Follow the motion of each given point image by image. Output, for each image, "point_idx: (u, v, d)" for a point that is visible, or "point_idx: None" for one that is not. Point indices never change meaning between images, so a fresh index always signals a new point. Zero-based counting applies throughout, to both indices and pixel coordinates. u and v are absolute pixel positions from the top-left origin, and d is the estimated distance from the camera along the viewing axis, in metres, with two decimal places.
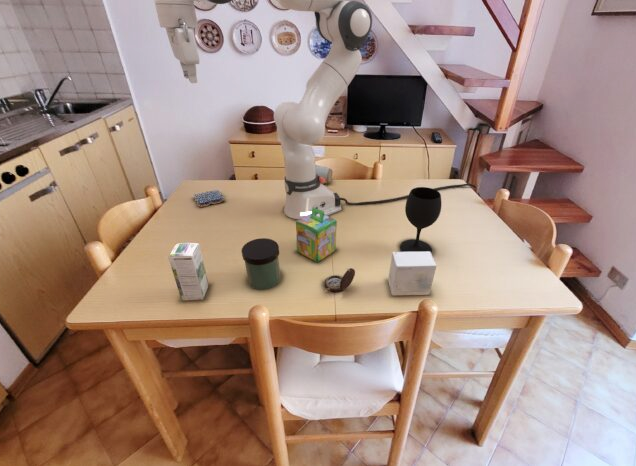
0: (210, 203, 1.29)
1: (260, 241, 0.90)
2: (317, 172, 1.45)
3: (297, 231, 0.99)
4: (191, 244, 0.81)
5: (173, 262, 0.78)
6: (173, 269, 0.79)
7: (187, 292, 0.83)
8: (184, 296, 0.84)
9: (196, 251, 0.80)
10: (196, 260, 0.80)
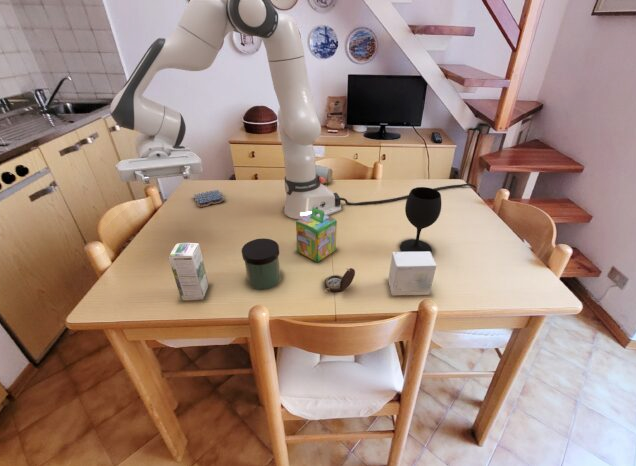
0: (210, 203, 1.29)
1: (260, 241, 0.90)
2: (317, 172, 1.45)
3: (297, 231, 0.99)
4: (191, 244, 0.81)
5: (173, 262, 0.78)
6: (173, 269, 0.79)
7: (187, 292, 0.83)
8: (184, 296, 0.84)
9: (196, 251, 0.80)
10: (196, 260, 0.80)
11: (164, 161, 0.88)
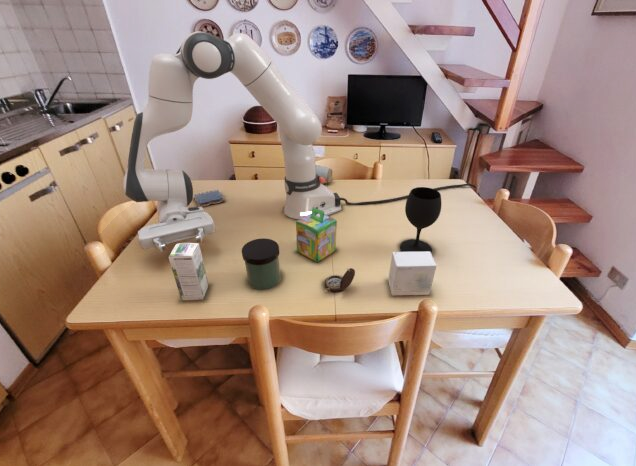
0: (210, 203, 1.29)
1: (260, 241, 0.90)
2: (317, 172, 1.45)
3: (297, 231, 0.99)
4: (191, 244, 0.81)
5: (173, 262, 0.78)
6: (173, 269, 0.79)
7: (187, 292, 0.83)
8: (184, 296, 0.84)
9: (196, 251, 0.80)
10: (196, 260, 0.80)
11: (180, 225, 0.95)
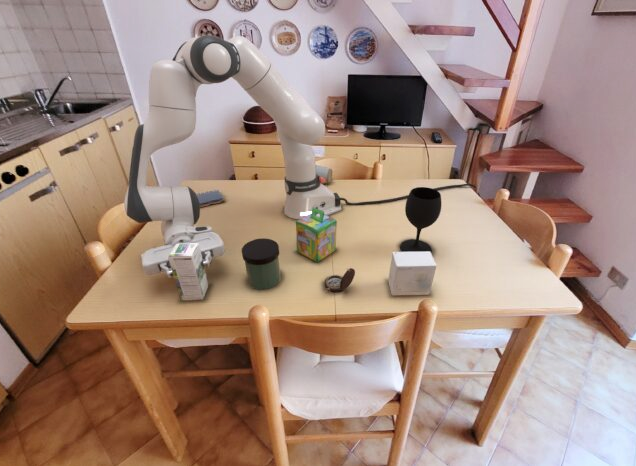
0: (210, 203, 1.29)
1: (260, 241, 0.90)
2: (317, 172, 1.45)
3: (297, 231, 0.99)
4: (191, 244, 0.81)
5: (173, 262, 0.78)
6: (173, 269, 0.79)
7: (187, 292, 0.83)
8: (184, 296, 0.84)
9: (196, 251, 0.80)
10: (196, 260, 0.80)
11: None
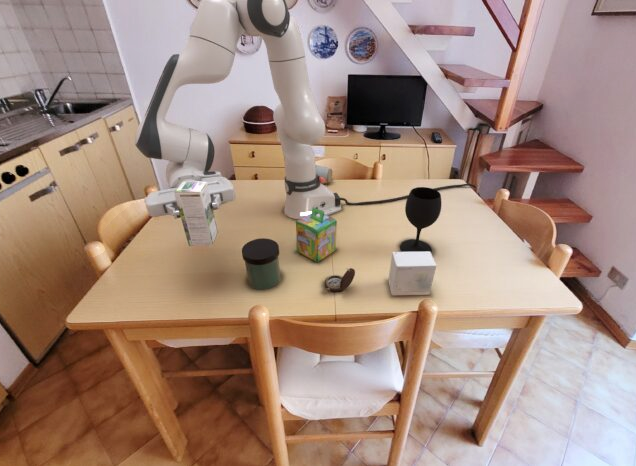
0: None
1: (260, 241, 0.90)
2: (317, 172, 1.45)
3: (297, 231, 0.99)
4: (199, 182, 0.74)
5: (179, 199, 0.71)
6: (179, 208, 0.72)
7: (195, 236, 0.76)
8: (191, 241, 0.77)
9: (204, 188, 0.73)
10: (204, 198, 0.73)
11: None
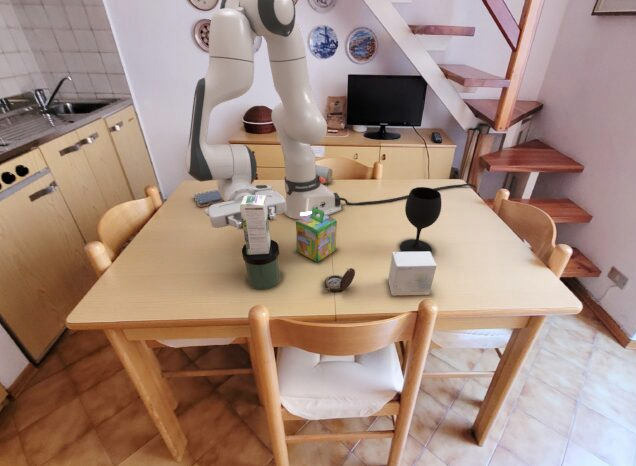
0: (210, 203, 1.29)
1: None
2: (317, 172, 1.45)
3: (297, 231, 0.99)
4: (259, 196, 0.81)
5: (244, 212, 0.78)
6: (243, 220, 0.79)
7: (254, 245, 0.83)
8: (250, 249, 0.83)
9: (265, 202, 0.80)
10: (265, 211, 0.80)
11: None
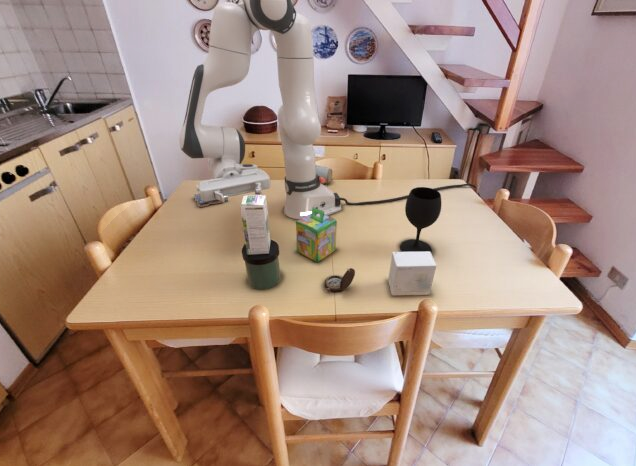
0: (210, 203, 1.29)
1: None
2: (317, 172, 1.45)
3: (297, 231, 0.99)
4: (259, 196, 0.81)
5: (244, 212, 0.78)
6: (243, 220, 0.79)
7: (254, 245, 0.83)
8: (250, 249, 0.83)
9: (265, 202, 0.80)
10: (265, 211, 0.80)
11: (237, 180, 0.95)
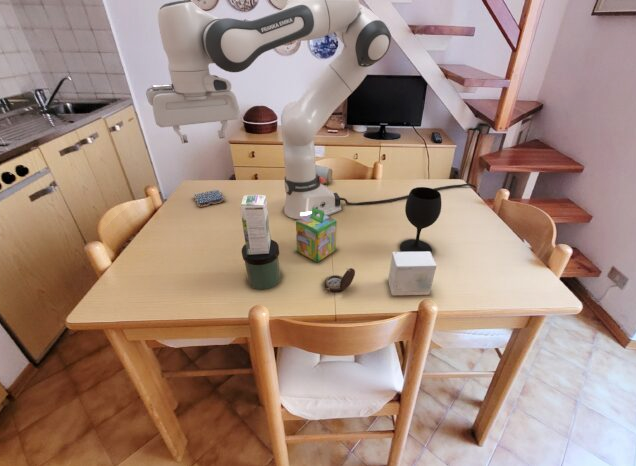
0: (210, 203, 1.29)
1: None
2: (317, 172, 1.45)
3: (297, 231, 0.99)
4: (259, 196, 0.81)
5: (244, 212, 0.78)
6: (243, 220, 0.79)
7: (254, 245, 0.83)
8: (250, 249, 0.83)
9: (265, 202, 0.80)
10: (265, 211, 0.80)
11: (203, 112, 0.81)
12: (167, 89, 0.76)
